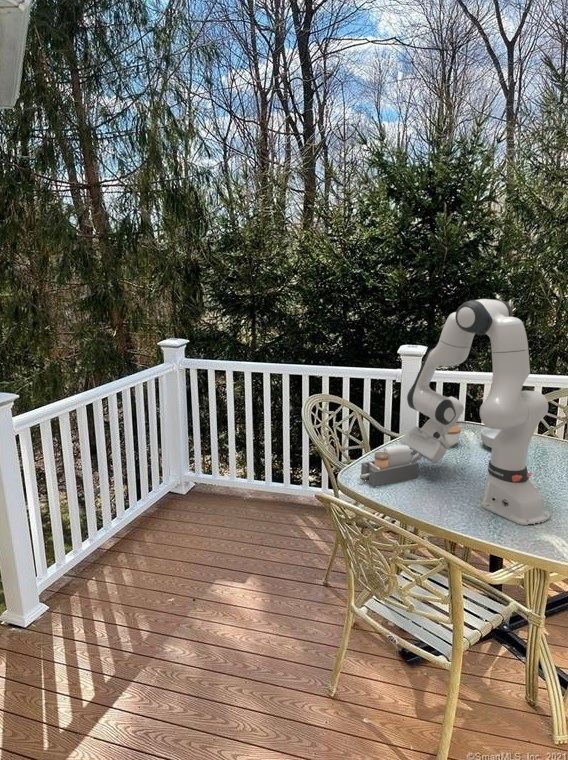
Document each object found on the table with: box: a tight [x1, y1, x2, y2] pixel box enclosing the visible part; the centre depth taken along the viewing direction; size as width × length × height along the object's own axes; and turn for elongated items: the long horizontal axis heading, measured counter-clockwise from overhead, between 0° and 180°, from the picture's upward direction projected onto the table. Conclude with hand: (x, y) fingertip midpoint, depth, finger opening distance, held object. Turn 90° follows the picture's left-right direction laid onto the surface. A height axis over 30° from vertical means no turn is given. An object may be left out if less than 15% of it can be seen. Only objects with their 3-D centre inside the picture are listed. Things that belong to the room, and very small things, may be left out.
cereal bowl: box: [480, 426, 501, 449], centre depth 230 cm, size 17×17×7 cm
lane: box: [360, 459, 420, 488], centre depth 202 cm, size 9×20×6 cm, turn 114°
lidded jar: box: [445, 424, 462, 448], centre depth 234 cm, size 11×11×9 cm
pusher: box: [359, 462, 381, 479], centre depth 198 cm, size 6×6×6 cm
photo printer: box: [383, 444, 411, 468], centre depth 203 cm, size 10×4×12 cm, turn 102°
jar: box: [373, 451, 389, 470], centre depth 200 cm, size 5×5×10 cm
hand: (409, 461), depth 205 cm, fingers closed, pressing on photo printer
